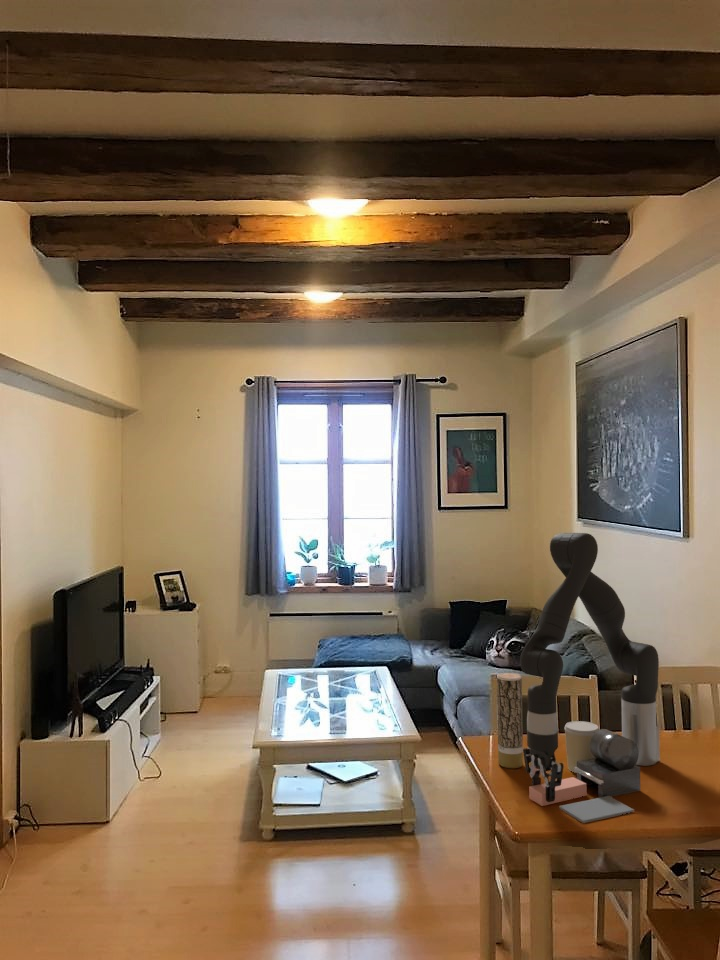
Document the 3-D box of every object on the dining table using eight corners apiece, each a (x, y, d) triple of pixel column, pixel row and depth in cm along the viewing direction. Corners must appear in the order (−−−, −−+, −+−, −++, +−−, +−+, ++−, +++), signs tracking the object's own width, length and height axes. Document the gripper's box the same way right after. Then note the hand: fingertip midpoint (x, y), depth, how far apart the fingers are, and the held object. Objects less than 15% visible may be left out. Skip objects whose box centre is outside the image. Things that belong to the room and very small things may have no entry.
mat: (608, 798, 194) (608, 795, 194) (634, 812, 186) (634, 809, 186) (559, 808, 188) (559, 806, 188) (583, 823, 180) (582, 820, 180)
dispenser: (613, 776, 208) (612, 726, 208) (641, 790, 198) (640, 738, 198) (573, 784, 203) (573, 732, 203) (600, 799, 193) (599, 745, 193)
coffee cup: (587, 761, 219) (586, 719, 220) (607, 773, 211) (606, 729, 211) (558, 765, 217) (557, 722, 217) (577, 777, 208) (576, 732, 208)
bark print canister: (507, 770, 213) (506, 679, 213) (493, 762, 219) (492, 674, 220) (527, 767, 216) (526, 677, 216) (513, 759, 222) (512, 671, 222)
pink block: (573, 788, 200) (573, 777, 200) (586, 795, 196) (586, 783, 196) (529, 798, 194) (529, 786, 194) (542, 805, 190) (542, 793, 190)
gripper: (572, 735, 188) (573, 805, 188) (537, 718, 201) (538, 784, 201) (547, 739, 185) (548, 810, 185) (513, 722, 198) (514, 789, 198)
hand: (543, 796), depth 193 cm, fingers closed on pink block, 5 cm apart
